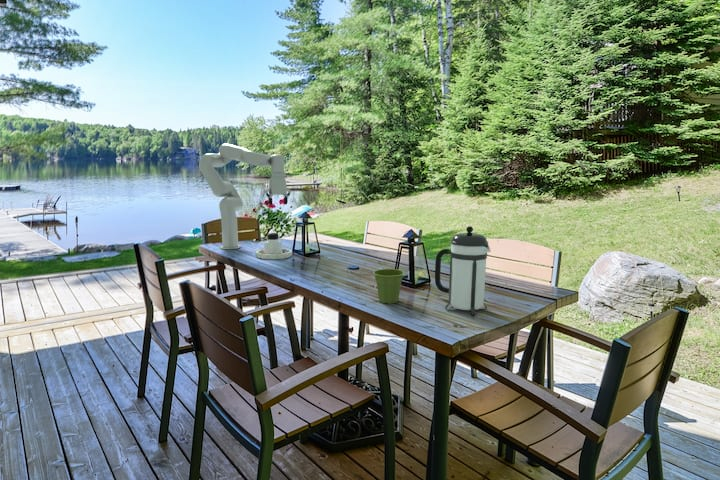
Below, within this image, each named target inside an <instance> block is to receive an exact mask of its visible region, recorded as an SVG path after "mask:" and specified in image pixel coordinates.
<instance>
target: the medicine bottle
mask: <svg viewBox="0 0 720 480" xmlns="http://www.w3.org/2000/svg"><path fill="white" fill-rule="evenodd" d="M263 245H264V248H263V249H265V254H270V253H273V254H278V253H281V254H282V248H283V241H280V240H279V233H277V232H270V233H267V240H266V241H264V244H263Z"/></svg>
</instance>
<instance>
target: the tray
mask: <svg viewBox="0 0 720 480" xmlns="http://www.w3.org/2000/svg"><path fill="white" fill-rule="evenodd" d="M292 256H293V255H292V250H291V249H289V248H283V247H282V254H281V253H278V254H273V253H270V254H265V248H263V249H259V250H256V252H255V257H256V258H257V259H260V258H261V259H260V260H282V259H287V258H290V257H292Z"/></svg>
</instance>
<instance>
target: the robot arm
mask: <svg viewBox="0 0 720 480" xmlns="http://www.w3.org/2000/svg"><path fill="white" fill-rule="evenodd" d="M232 161H237V162H241V163H244V164H246V165H247V164H248V165H252V166H255V167H258V168H270V171H271V172H270V173H271V174H270V175H271V177H269V182H268V187H267V188H266V189H265V190H264V191H263V192H264V194H265V196H266V197H267V199H268V204H269V205H271V206H272V205H273V196H274V195H276V196H279V195H283V204H284V205H288V199H289V197H290V195H291V194H292V189H290V188H288V186H287V181H286V176H287V174H286V173H285V157H284V155H283V154H265V153H259V152H256V151H255V152H254V151H251V150H248V149H247V148H246V147H243V146H237V145H235V144H231V143H223V144H221V145H220V146H219V148H218V153H213V152H211V153H210V152H209V153H205V154H203V155H202V156H201V157H200V159H199V165H198V166H199V170H200V172H201V174H202V176H203V177H204V179H205V182H207V184H208V186H209V188H210V189H211V191H212V193H213V195H214V196H216V197H217V198H222V199H221V200H220V201H219V203H218V207H219V208H218V209H219V213H220V223H221V240H222V241H221V243H222V245H220V246H219V248H220V249H221V250H236V249H240V248H242V245H241V244H239V234H238V233H239V231H238V230H239V229H238V218H237V213H236V212H239V211H241V210H242V209H243V206H244V205H243V204H244V203H243V200H242V197H241V196H240V194H239V192H238V190H237V189H236V187H235V185H234V184H232V183H231V182H230V181H224V180H223V178H222V177H221V175H220V174H219V172H218V171H217V170H216V169H215V168H222V167H224V166H226V165H228V164H229V163H230V162H232Z"/></svg>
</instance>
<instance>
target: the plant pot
mask: <svg viewBox="0 0 720 480" xmlns="http://www.w3.org/2000/svg"><path fill="white" fill-rule="evenodd" d="M372 274H373V275H374V278H375V283H376V288H377V294H378V299H379V300H378V301H379V302H380V303H383V304H385V303H387V304H395V303H398V301H399V299H400V292H401V286H402V281H403V277H404V275H405V274H406V273H405V271H404V270H402V269H395V268H379V269H375V270H373V272H372Z"/></svg>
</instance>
